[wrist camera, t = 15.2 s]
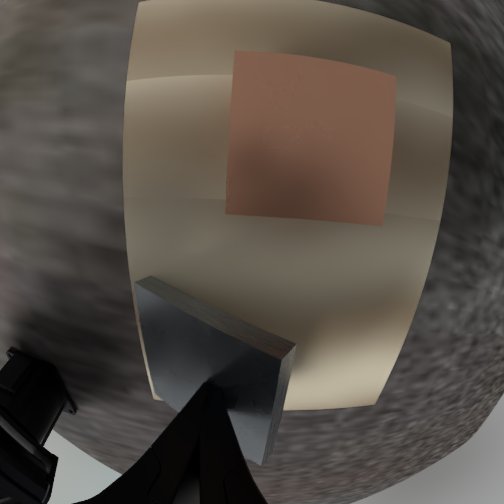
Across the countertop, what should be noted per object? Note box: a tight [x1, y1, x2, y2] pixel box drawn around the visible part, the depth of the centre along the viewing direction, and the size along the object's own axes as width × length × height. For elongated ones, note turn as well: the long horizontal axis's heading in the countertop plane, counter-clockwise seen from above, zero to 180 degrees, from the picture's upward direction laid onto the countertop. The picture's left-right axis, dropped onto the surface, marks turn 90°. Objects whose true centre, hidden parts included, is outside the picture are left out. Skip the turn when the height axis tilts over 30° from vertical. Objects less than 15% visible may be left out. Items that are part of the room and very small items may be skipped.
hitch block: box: [123, 0, 453, 410], centre depth 12 cm, size 18×12×4 cm, turn 177°
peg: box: [225, 50, 396, 226], centre depth 9 cm, size 4×4×7 cm
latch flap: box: [134, 276, 297, 465], centre depth 10 cm, size 6×6×1 cm
